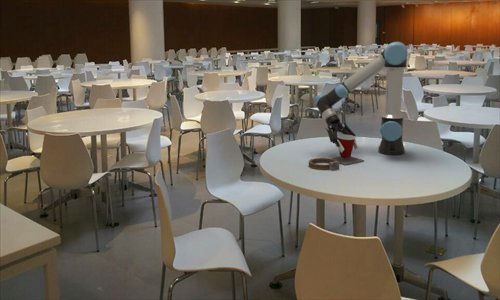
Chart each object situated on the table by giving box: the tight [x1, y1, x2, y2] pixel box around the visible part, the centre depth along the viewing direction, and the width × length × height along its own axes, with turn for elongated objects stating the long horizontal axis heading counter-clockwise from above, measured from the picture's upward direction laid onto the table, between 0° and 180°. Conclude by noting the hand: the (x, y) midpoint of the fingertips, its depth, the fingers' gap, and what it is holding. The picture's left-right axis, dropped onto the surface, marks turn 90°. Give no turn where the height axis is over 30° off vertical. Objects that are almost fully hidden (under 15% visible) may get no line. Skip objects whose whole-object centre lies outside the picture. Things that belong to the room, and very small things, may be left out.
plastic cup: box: [337, 133, 357, 158], centre depth 281 cm, size 11×11×12 cm
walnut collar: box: [308, 157, 340, 172], centre depth 273 cm, size 15×18×4 cm
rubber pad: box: [330, 156, 365, 166], centre depth 283 cm, size 14×14×1 cm
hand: (349, 149), depth 279 cm, fingers closed on plastic cup, 10 cm apart
